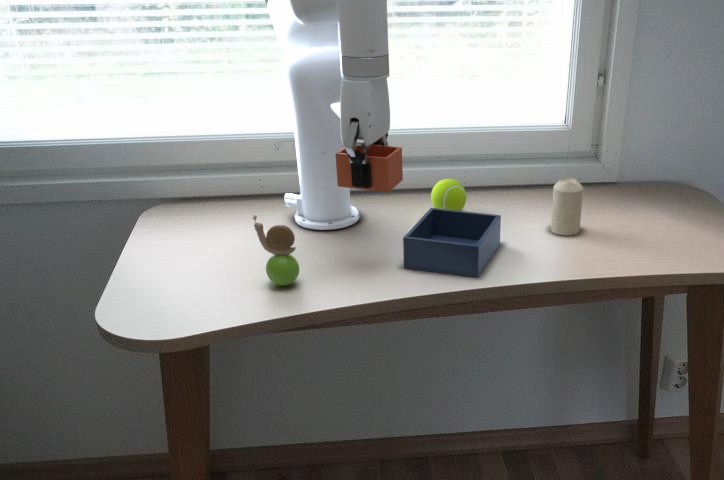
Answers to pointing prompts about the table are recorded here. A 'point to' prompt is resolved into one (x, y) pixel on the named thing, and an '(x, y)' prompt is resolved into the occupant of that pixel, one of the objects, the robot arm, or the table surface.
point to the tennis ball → (448, 195)
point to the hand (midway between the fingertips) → (370, 179)
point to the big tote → (452, 242)
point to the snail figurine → (279, 253)
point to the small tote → (373, 167)
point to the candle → (566, 207)
